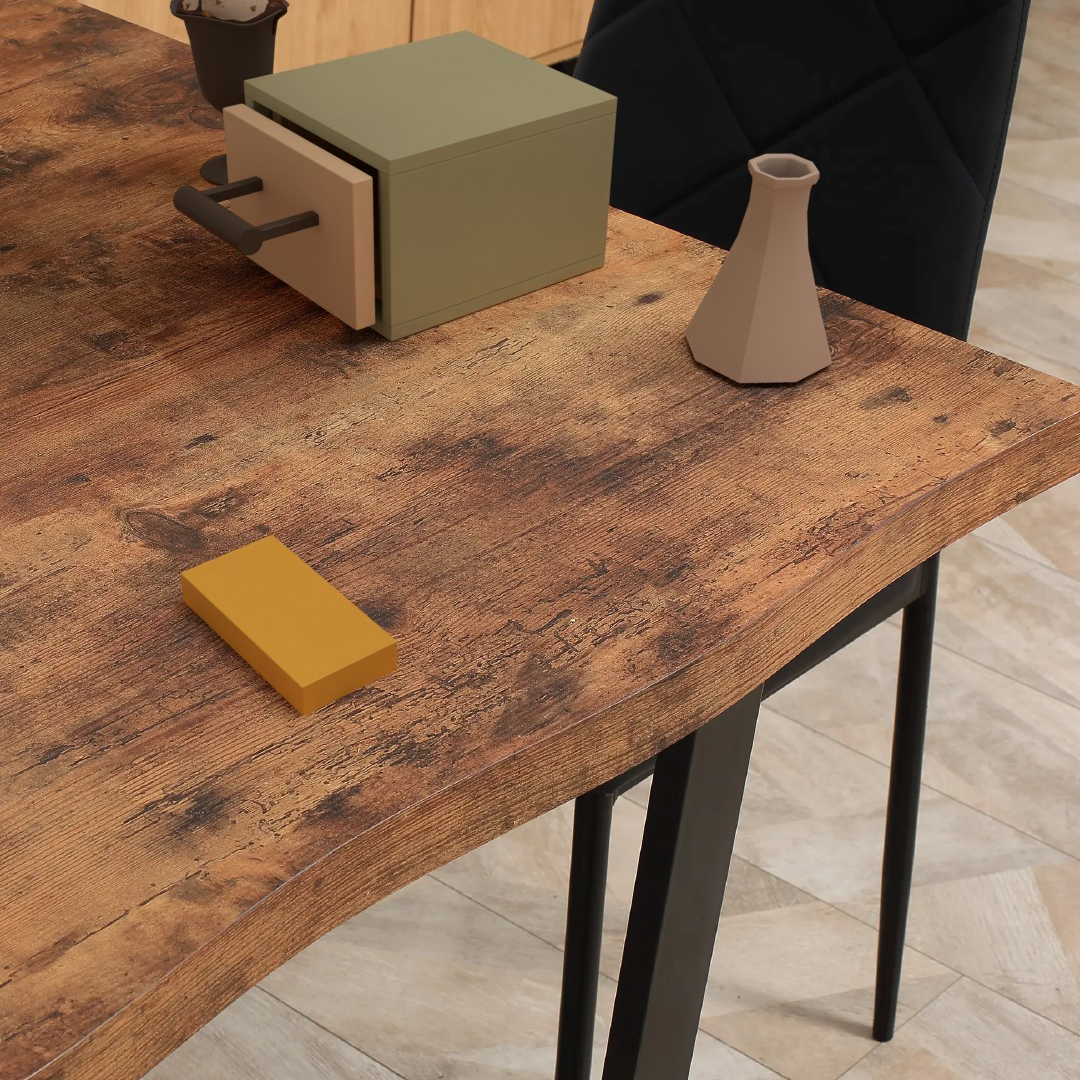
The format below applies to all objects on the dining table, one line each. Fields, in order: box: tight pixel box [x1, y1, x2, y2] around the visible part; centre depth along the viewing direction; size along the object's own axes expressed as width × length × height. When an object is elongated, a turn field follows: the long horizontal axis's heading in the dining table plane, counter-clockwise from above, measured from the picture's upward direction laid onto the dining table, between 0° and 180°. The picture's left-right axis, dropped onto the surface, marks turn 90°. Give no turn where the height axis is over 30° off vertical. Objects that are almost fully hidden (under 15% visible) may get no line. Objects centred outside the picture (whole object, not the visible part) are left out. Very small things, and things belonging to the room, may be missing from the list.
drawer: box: [172, 104, 382, 331], centre depth 80 cm, size 18×11×8 cm, turn 131°
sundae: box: [169, 0, 290, 186], centre depth 89 cm, size 7×7×15 cm
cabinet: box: [244, 29, 618, 342], centre depth 82 cm, size 15×13×10 cm
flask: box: [683, 153, 833, 384], centre depth 75 cm, size 7×7×10 cm
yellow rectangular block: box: [180, 534, 398, 717], centre depth 56 cm, size 8×4×3 cm, turn 41°
